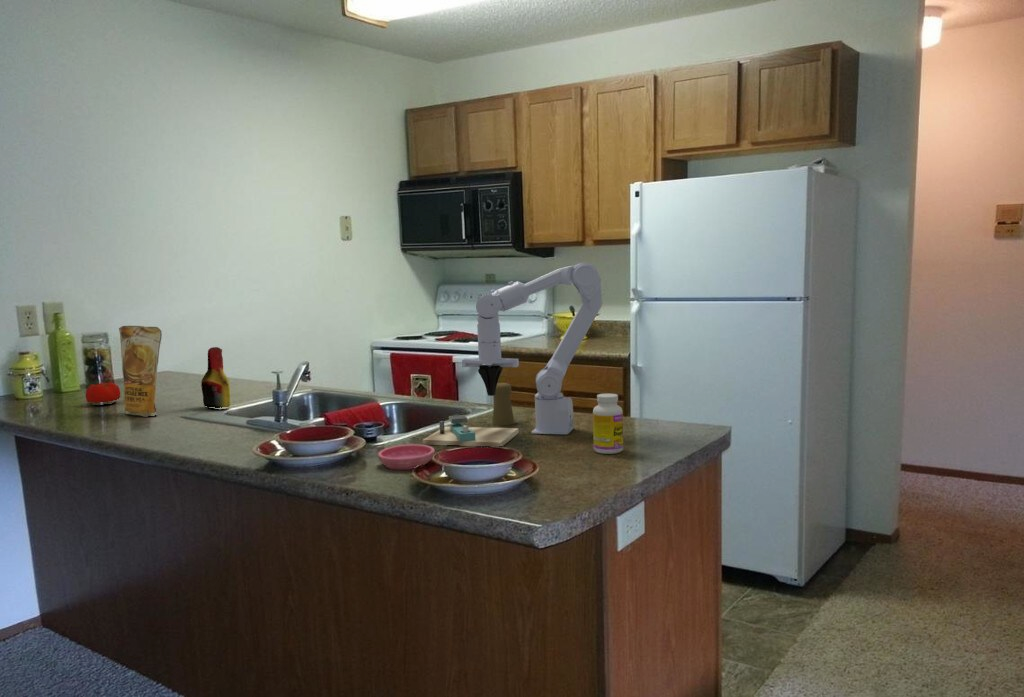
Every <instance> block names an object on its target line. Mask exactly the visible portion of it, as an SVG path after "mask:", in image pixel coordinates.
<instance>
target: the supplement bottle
mask: <svg viewBox="0 0 1024 697" xmlns="http://www.w3.org/2000/svg"><path fill="white" fill-rule="evenodd" d="M596 401H597V405H595V406H594V408H593V410H592V423H593V424H592V426H593V427H592V430H593V450H594V452H596V453H597V454H603V455H615V454H619V453H622V451H623V450H624V424H623V423H624V422H623V420H624V419H623V418H624V417H623V413H624V412H623V409H622V407H621V406H620V405H619V404H618V401H619V395H618V394H617V393H599V394H597V395H596Z"/></svg>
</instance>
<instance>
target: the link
mask: <svg viewBox="0 0 1024 697" xmlns="http://www.w3.org/2000/svg"><path fill="white" fill-rule="evenodd" d="M462 426H463V425H462V423H460V424H457V425H453V424H450V425H449V427H450V431H451V432H453V433H454V434H455V435H456V438H457V439H458V440H459V441H469V440H475V432H474V431H473V430H472V429H470V430H468V431H469V432H468V433H463V427H462Z"/></svg>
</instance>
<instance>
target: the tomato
mask: <svg viewBox="0 0 1024 697" xmlns="http://www.w3.org/2000/svg"><path fill="white" fill-rule="evenodd" d="M119 398H120V399H121V390H120V387H119V386H118V385H117V384H116V383H115V382H112V381H108V382H99V383H97V384H95V383H94V384H90V385H89V386H88V387H87V388H86V390H85V399H86V401H87V403H88V402H93V403H94V402H95V403H98V402H108V401H113V400H117V399H119ZM120 399H119V400H120Z"/></svg>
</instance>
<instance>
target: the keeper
mask: <svg viewBox="0 0 1024 697" xmlns="http://www.w3.org/2000/svg"><path fill="white" fill-rule="evenodd" d="M448 421H449V422H450V423H451V425H457V424H463V423H468V417H467V416H466V415H465V414H453V415H449V416H448ZM438 424H439V430H440V434H444V433H445V429H444V427H445V420H439V422H438Z"/></svg>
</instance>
